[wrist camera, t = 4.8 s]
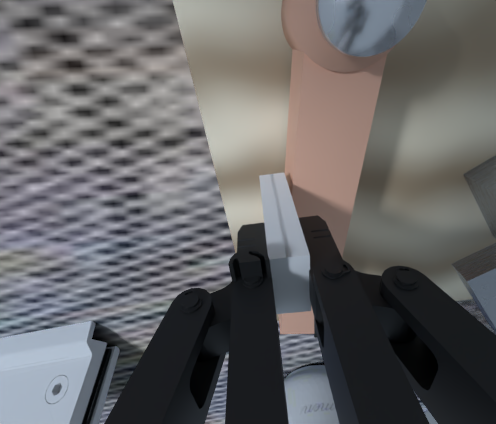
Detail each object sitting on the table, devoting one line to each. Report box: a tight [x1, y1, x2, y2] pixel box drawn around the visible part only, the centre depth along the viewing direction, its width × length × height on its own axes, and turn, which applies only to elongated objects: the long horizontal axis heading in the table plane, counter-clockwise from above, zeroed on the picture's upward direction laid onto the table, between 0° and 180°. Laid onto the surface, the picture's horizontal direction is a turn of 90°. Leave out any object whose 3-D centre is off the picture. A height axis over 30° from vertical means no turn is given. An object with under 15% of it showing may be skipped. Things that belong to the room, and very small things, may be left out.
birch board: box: [173, 0, 496, 321], centre depth 18 cm, size 26×21×1 cm
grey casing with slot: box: [0, 321, 120, 424], centre depth 26 cm, size 17×5×10 cm, turn 105°
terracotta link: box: [278, 0, 396, 334], centre depth 16 cm, size 21×4×4 cm, turn 1°
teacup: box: [284, 365, 339, 424], centre depth 28 cm, size 14×11×8 cm
